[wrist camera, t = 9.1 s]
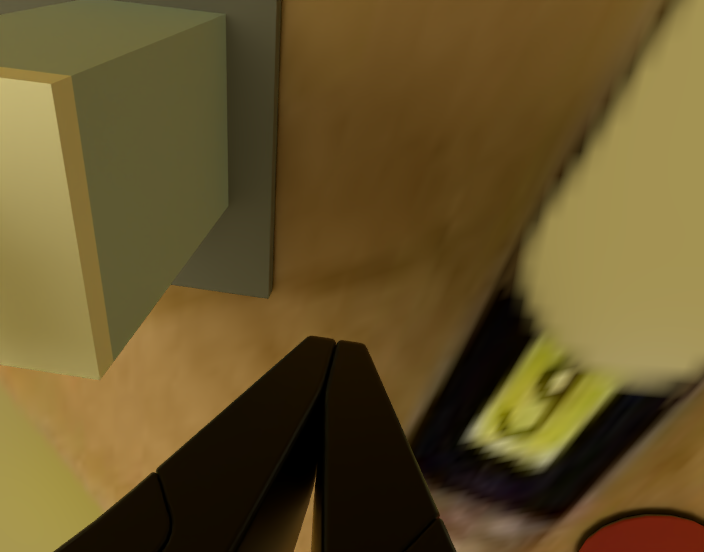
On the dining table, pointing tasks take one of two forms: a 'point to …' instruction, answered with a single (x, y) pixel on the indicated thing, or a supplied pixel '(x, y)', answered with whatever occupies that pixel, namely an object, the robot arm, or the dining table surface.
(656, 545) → the beer can
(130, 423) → the dining table surface
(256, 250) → the mat
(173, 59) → the pale green block
